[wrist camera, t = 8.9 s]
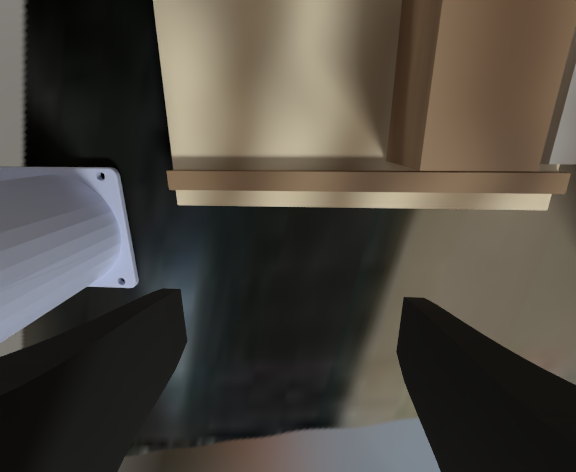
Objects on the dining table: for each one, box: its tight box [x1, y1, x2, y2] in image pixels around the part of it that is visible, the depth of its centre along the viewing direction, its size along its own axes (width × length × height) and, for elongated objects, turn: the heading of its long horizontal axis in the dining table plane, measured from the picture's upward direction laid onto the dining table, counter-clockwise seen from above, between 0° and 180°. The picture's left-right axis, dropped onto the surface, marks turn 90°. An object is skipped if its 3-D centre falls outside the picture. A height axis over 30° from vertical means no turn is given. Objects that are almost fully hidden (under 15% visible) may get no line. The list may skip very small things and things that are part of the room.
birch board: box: [153, 0, 576, 210], centre depth 14 cm, size 20×14×4 cm
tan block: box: [386, 0, 576, 171], centre depth 11 cm, size 4×10×5 cm, turn 0°
